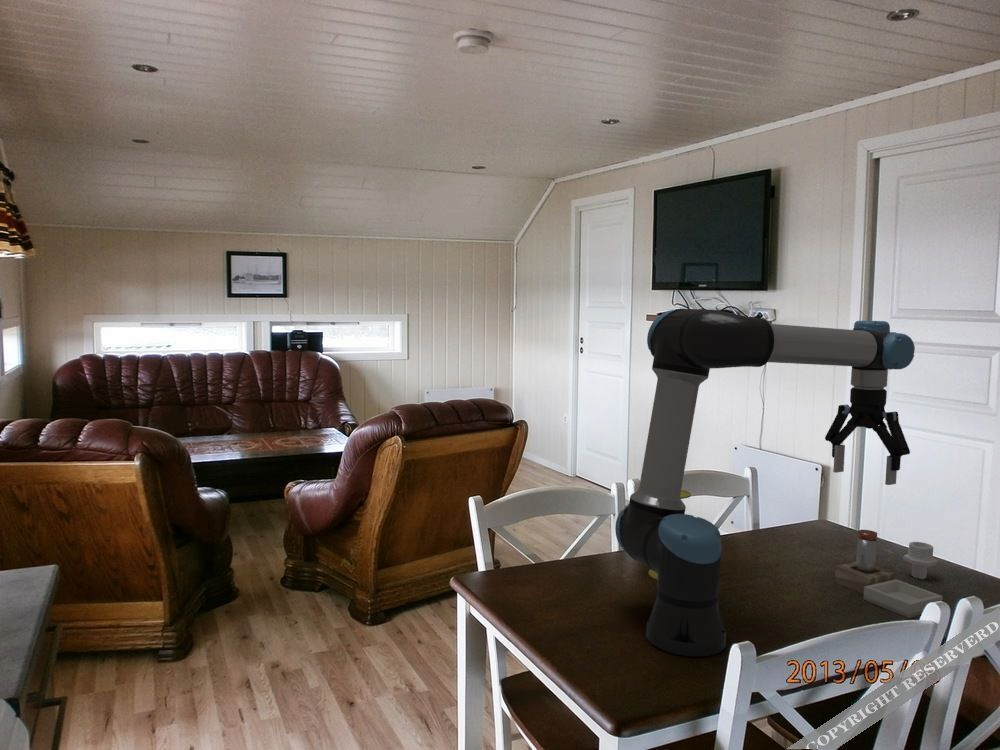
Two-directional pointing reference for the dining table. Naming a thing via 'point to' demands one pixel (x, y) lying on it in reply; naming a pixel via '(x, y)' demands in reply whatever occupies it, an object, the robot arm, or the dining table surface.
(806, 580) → the dining table surface
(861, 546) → the grey tall cylinder
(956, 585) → the dining table surface
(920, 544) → the pipe fitting
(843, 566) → the socket block
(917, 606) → the dish
